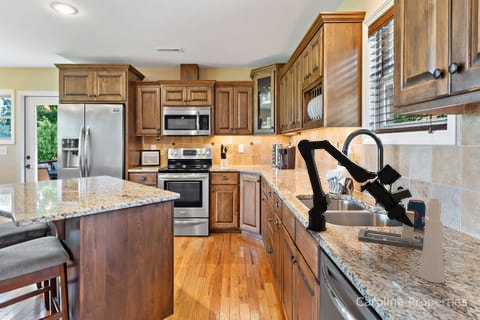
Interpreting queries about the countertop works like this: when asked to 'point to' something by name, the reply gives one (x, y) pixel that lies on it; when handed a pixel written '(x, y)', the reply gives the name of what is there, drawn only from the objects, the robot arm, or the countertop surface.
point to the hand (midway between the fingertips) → (412, 225)
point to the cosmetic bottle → (433, 245)
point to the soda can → (417, 212)
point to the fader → (406, 229)
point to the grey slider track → (390, 238)
